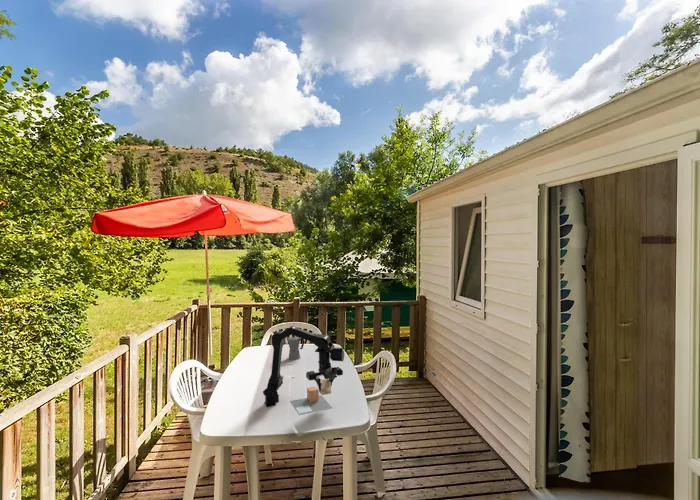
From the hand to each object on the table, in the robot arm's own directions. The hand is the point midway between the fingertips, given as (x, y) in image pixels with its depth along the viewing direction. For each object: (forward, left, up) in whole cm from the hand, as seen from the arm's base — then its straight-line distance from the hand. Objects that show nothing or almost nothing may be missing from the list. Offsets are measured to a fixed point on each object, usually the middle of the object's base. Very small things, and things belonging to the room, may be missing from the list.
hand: (324, 389), depth 195 cm
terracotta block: (-3, +11, -9) cm, 15 cm away
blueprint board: (-6, +6, -10) cm, 13 cm away
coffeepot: (+8, +89, -10) cm, 90 cm away
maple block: (0, 0, -2) cm, 2 cm away
